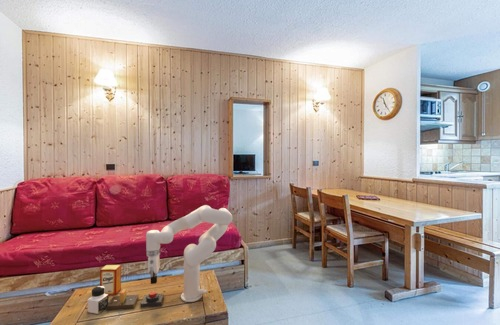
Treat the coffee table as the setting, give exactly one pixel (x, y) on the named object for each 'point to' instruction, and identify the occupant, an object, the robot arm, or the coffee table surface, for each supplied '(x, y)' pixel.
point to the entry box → (152, 300)
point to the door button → (152, 294)
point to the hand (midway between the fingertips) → (153, 283)
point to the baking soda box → (111, 279)
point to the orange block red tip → (123, 296)
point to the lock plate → (127, 304)
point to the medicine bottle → (98, 300)
